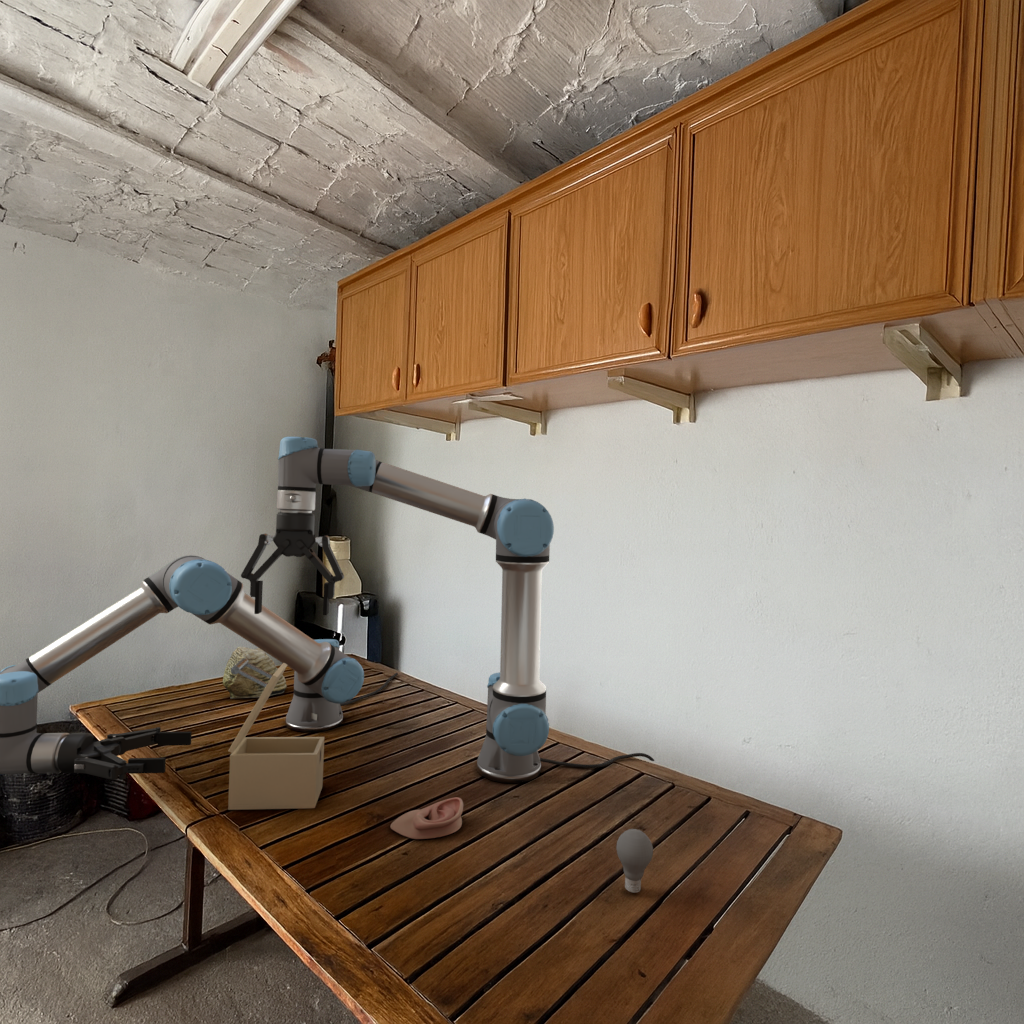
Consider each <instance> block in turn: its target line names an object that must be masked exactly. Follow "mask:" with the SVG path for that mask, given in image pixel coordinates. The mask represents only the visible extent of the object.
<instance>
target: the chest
mask: <svg viewBox="0 0 1024 1024" xmlns="http://www.w3.org/2000/svg"><path fill="white" fill-rule="evenodd" d="M324 758H325V736H259V737H258V736H247V737H246V736H245V738H244V739H243V740H242V742H241V743H240V744H239V746H238V747H237V748H236V750H235V751H234V752H233V753H231V754H230V755H229V773H228V774H229V777H228V801H227V803H228V804H227V810H228V811H241V810H291V809H292V810H293V809H295V810H297V809H315V808H316V806H317V804H318V800H319V798H320V795H321V791H322V789H323V782H324Z"/></svg>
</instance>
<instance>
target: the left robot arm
mask: <svg viewBox="0 0 1024 1024" xmlns="http://www.w3.org/2000/svg"><path fill="white" fill-rule="evenodd" d="M177 608H180V609H181V610H183V611H184V612H186V613H190V614H192V615H193V616H195V617H196V618H198V619H200V620H201V621H203V622H204V623H205V624H207V625H216V624H221V625H222V626H224V627H225V628H227V629H229V630H230V631H232V632H233V633H235V634H236V635H238V636H239V637H241V638H243V640H245V641H247V642H248V643H250V644H252V645H253V646H255V647H256V648H260V649H261V650H263V651H264V652H265V653H266V654H267V655H268V656H271V658H274V659H275V660H277V661H279V662H280V663H282V664H283V663H285V664H287V667H288V668H289V669H291V670H293V671H294V672H293V695H292V696H293V697H292V699H291V702H290V704H289V708H288V711H287V713H286V715H285V726H286V728H287V729H289V730H291V731H294V732H295V731H296V732H301V733H316V732H325V731H329V730H332V729H335V728H337V727H339V726H340V725H342V723H343V722H344V714H343V709H342V707H344V706H348V705H351V704H354V703H356V702H359V701H362V700H364V699H366V698H369V697H372V696H374V695H376V694H378V693H379V692H381V691H382V690H384V689H385V688H386V687H387V686H388V684H389V683H390V682H391V681H392V680H393V679H394V678H395V677H397V676H398V675H399V673H398V672H395V673H394V674H393V675H391V676H390V677H389V678H387V680H386V681H385V683H384V684H382V685H381V686H380V687H379V688H377V689H376V690H374V691H371V692H369V693H366V694H363V695H361V696H359V697H356V696H357V695H358V694H359V693H360V691H361V689H362V688H363V686H364V681H365V671H364V668H363V666H362V664H360V662H359V661H358V660H357V659H356V658H354V657H351V656H349V655H347V654H346V653H344V652H343V651H341V649H340V647H341V646H340V642H339V640H337V639H334V638H323V639H322V638H319V639H313V638H311V637H310V636H309V635H307V634H305V633H304V632H303V631H301V630H300V629H299V628H297V627H296V626H294V625H293V624H291V623H289V622H288V621H286V620H285V619H284V618H282V617H281V616H279V615H278V614H276V613H275V612H274V611H272V610H270V609H269V608H267V607H266V606H265V605H263V604H262V612H260V613H259V614H254V612H255V598H254V597H251V596H250V595H248V594H247V593H245V591H244V584H243V582H242V581H240V580H239V579H237V578H235V577H234V576H233V575H232V574H230V573H229V572H227V571H226V570H225V568H224V567H223V566H222V565H220V564H218V563H217V562H214V561H212V560H210V559H209V560H208V559H206V558H204V557H202V556H198V555H192V554H191V555H184V556H180V557H177V558H174V559H173V560H172V561H170V562H168V563H166V564H165V565H164V566H162V567H161V568H160V569H158V570H157V571H155V572H154V573H152V574H151V575H149V576H147V577H146V578H143V580H141V582H140V586H139V588H136V589H135V590H133V591H132V592H130V593H128V594H127V595H125V596H124V597H122V598H121V599H119V600H117V601H116V602H114V603H113V604H111V605H110V606H108V607H107V608H105V609H103V610H101V611H100V612H98V613H97V614H94V616H92V617H90V618H89V619H87V620H86V621H83V622H82V623H81V624H79V625H78V626H76V627H74V628H72V629H71V630H70V631H68V632H67V633H64V634H63V635H61V636H60V637H59V638H57V639H55V640H54V641H52V642H50V643H48V644H47V645H46V646H44V647H42V648H41V649H39V650H38V651H36V652H34V653H33V654H32V655H30V656H28V657H27V658H25V659H24V660H22V661H20V662H18V663H16V664H12V665H8V666H6V667H4V668H3V669H1V670H0V776H5V775H23V774H24V775H25V774H29V775H30V774H33V775H34V774H36V775H37V774H46V775H47V776H51V775H53V774H60V773H62V774H86V775H90V776H94V777H99V778H102V779H105V780H110V781H116V780H119V781H120V780H125V779H127V774H130V775H131V774H132V775H133V774H134V775H135V774H136V775H137V774H139V775H140V774H164V773H166V760H167V758H166V757H129V758H128V759H127V760H125V759H124V758H122V757H119V756H122V755H125V753H126V752H129V751H133V750H134V751H135V750H137V749H141V748H146V747H150V746H154V745H157V747H165V746H166V747H167V746H169V747H171V746H175V747H177V746H191V745H192V731H161V730H162V729H161V727H160V726H155V727H154V728H147V729H141V730H135V731H133V730H132V731H127V732H120V733H109V734H107V735H106V738H103V739H100V740H96V738H95V737H94V735H93V734H92V733H91V732H71V733H69V732H47V733H45V732H44V733H42V732H41V733H39V732H37V731H38V730H37V729H38V723H37V722H38V721H37V720H38V699H39V698H38V695H39V693H40V692H42V691H44V690H45V689H46V688H48V687H49V686H51V685H52V684H54V683H55V682H57V681H58V680H59V679H61V678H63V677H64V676H66V675H67V674H69V673H71V672H72V671H73V670H75V669H77V668H78V667H80V666H81V665H83V664H84V663H86V662H87V661H89V660H90V659H92V658H93V657H95V656H96V655H98V654H100V653H101V652H103V651H104V650H106V649H107V648H109V647H111V646H112V645H113V644H115V643H117V642H118V641H120V640H121V639H122V638H124V637H126V636H127V635H129V634H130V633H132V632H134V631H136V629H138V628H139V627H141V626H143V625H144V624H146V623H147V622H148V621H150V620H152V619H153V618H154V617H156V616H158V615H159V614H169V613H171V612H172V611H173V610H175V609H177Z"/></svg>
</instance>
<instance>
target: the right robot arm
mask: <svg viewBox="0 0 1024 1024" xmlns="http://www.w3.org/2000/svg"><path fill="white" fill-rule="evenodd" d="M277 460H278V461H277V463H278V465H277V466H278V468H277V494H276V495H277V496H276V509H277V510H279V512H277V513H276V518H275V519H276V521H275V534H274V535H271V534H268V533H261V534H260V535H259V537H258V542H257V546H256V547H255V549H254V551H253V553H252V554H251V556H250V558H249V560H248V562H247V564H246V565H245V567H244V568H243V570H242V572H241V574H240V577H241V578H242V579H244V580H245V579H246V580H248V581H249V583H250V585H249V588H250V589H249V596H250V597H251V598H254V600H255V612H254V614H259V613H260V612H262V605H263V588H264V585H263V583H264V581H263V580H260V578H261V577H262V576H263V575H264V574H265V573H266V572H267V571H268V570H269V569H270V568H271V567H272V566H273V565H274V563H276V561H277V560H279V558H281V557H282V556H285V557H296V558H302V557H306V558H307V560H309V561H310V562H311V563H312V565H313V566H314V567H315V568H316V569H317V571H318V572H319V573H320V574H321V576H322V578H324V580H326V581H325V582H324V584H323V597H322V601H323V602H322V603H323V604H322V616H328V614H329V612H330V600H332V599H334V597H335V593H336V592H335V590H336V589H335V588H336V583H338V582H341V581H342V580H344V579H345V575H344V572H343V570H342V568H341V566H340V564H339V561H338V559H337V558H336V555H335V553H334V551H333V549H332V547H331V539H330V536H329V535H324V536H316V535H315V516H316V515H315V514H314V513H313V511H315V510H316V496H317V495H316V494H317V493H316V487H317V485H331V486H346V487H352V488H356V489H358V490H362V491H365V492H368V493H372V494H375V495H378V496H380V497H383V498H387V499H390V500H392V501H396V502H399V503H402V504H405V505H408V506H410V507H414V508H417V509H420V510H423V511H426V512H429V513H432V514H435V515H438V516H440V517H444V518H447V519H449V520H453V521H456V522H459V523H462V524H464V525H467V526H468V525H469V526H471V527H474V528H475V530H476V532H477V533H479V534H480V535H481V534H482V535H484V536H486V537H489V538H491V539H494V540H495V563H496V564H497V565H498V566H499V567H500V568H501V571H502V572H501V573H502V574H501V582H502V583H501V614H500V615H501V616H500V617H501V619H500V620H501V621H500V623H501V624H500V659H499V660H500V662H499V664H500V666H499V672H494V673H491V674H490V675H489V676H488V681H487V685H486V687H487V705H486V722H485V723H486V726H485V738H484V741H483V742H482V746H481V749H480V751H479V754H478V757H477V760H476V770H477V772H478V774H479V775H481V776H482V777H483V778H485V779H488V780H490V781H493V782H497V783H503V784H519V783H526V782H529V781H532V780H534V779H536V778H538V777H539V776H540V774H541V772H542V771H541V770H542V763H545V764H546V763H547V764H552V765H556V766H561V767H570V768H579V769H596V768H598V769H599V768H604V767H607V766H609V765H611V764H612V763H614V762H616V761H618V760H623V759H631V758H637V757H643V758H647V759H648V760H649V761H651V762H655V759H654V758H653V757H652V756H651V755H649V754H647V753H643V752H636V753H629V754H623V755H618V756H615V757H612V758H611V759H609V760H607V761H604V762H601V763H595V764H594V763H593V764H583V763H572V762H565V761H558V760H554V759H548V758H544V757H543V758H542V757H540V754H539V750H541V748H542V747H543V746H545V743H546V742H547V740H548V738H549V734H550V733H549V732H550V722H549V718H548V716H547V713H546V712H547V686H546V685H545V683H543V682H542V681H541V679H540V675H541V674H540V673H541V630H542V629H541V628H542V589H543V588H542V587H543V585H542V584H543V570H544V569H545V567H547V566H548V564H549V563H550V553H551V552H550V550H551V549H550V547H551V543H552V540H553V537H554V533H555V526H554V521H553V518H552V515H551V514H550V512H549V510H548V509H547V508H546V507H545V506H544V505H543V504H541V503H540V502H539V501H536V500H534V499H530V498H509V497H502V496H499V495H496V494H493V493H489V494H487V495H482V494H480V493H477V492H474V491H470V490H468V489H465V488H462V487H458V486H455V485H453V484H449V483H447V482H444V481H440V480H438V479H434V478H431V477H429V476H425V475H423V474H419V473H416V472H413V471H411V470H408V469H404V468H401V467H398V466H396V465H392V464H389V463H386V462H383V461H380V460H377V459H376V455H375V453H374V452H373V451H370V450H363V449H343V448H342V449H340V448H323V447H319V445H318V440H317V439H316V438H313V437H303V436H284V437H282V439H280V442H279V452H278V457H277ZM271 542H273V543H274V545H275V546H276V547H277V548H276V549H275V550H274V551H273V553H271V555H269V557H268V558H267V559H266V560H265V561H264V562H263V563H262V565H261V566H259V568H258V569H257V570H255V571H254V569H255V568H256V565H257V564H258V562H259V560H260V559H261V557H262V555H263V553H264V552H265V550H266V548H267V546H269V545H270V544H271ZM316 543H317V544H318V546H319V547H321V548H322V550H323V553H324V555H325V557H326V559H327V561H328V563H329V566H330V567H331V569H332V571H330V570H329V568H327V566H326V565H325V564H324V563H323V561H322V560H321V559H320V558H319V556H318V555H317V553H316V552H315V551H314V550H313V547H314V545H315V544H316ZM253 571H254V573H253ZM332 572H333V573H332ZM333 574H334V575H333Z"/></svg>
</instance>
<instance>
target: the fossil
mask: <svg viewBox="0 0 1024 1024" xmlns="http://www.w3.org/2000/svg"><path fill="white" fill-rule="evenodd" d="M243 658H247V659H248V661H249V663H251V664H252V665H254V666H256V667H258V668H260V669H262V670H264V671H266V672H268V673H270V674H272V675H273V674H274V673H275V672H276V671H277V670H278V668H279V667H277V665H276V663H275V662H274V660H273V659H272V657H270V655H269V654H268V653H266V652H264V651H263V650H261V649H260V648H258V647H256V648H251V647H247V646H246V647H245V646H238V647H237V648H236V649H235V650H233V651H232V653H231V656H230V657H229V659H228V660H227V663H226V666H225V668H224V671H223V675H222V676H223V677H222V685H223V687H224V688H225V690H226V691H228V693H229V698H230V699H250V698H260V696H261V694H262V693H263V691H264V689H265V687H264V686H262V685H260V684H258V683H256V682H254V681H252V680H250V679H248V678H246V677H244V676H242V675H240V674H232V673H231V668H232V667H233V666H234V665H236V664H237V663H238V662H239V661H240V660H241V659H243ZM242 671H244V672H246V673H248V674H250V675H252V676H254V677H256V678H258V679H260V680H262V681H264V682H266V683H268V682H269V681H270V678H268V677H266V676H264V675H262V674H260V673H258V672H256V671H254V670H253V669H251V668H249V667H247V666H245V667H244V668H243V669H242ZM287 687H288V686H287V680H286V678H285V676H284V674H282V675H281V677H280V679H279V681H278V682H277V684H276V686H275V687H274V689H273V691H272V692H271V694H270V696H269V697H271V696H275V695H281V694H284V693H285V691H286V689H287Z"/></svg>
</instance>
